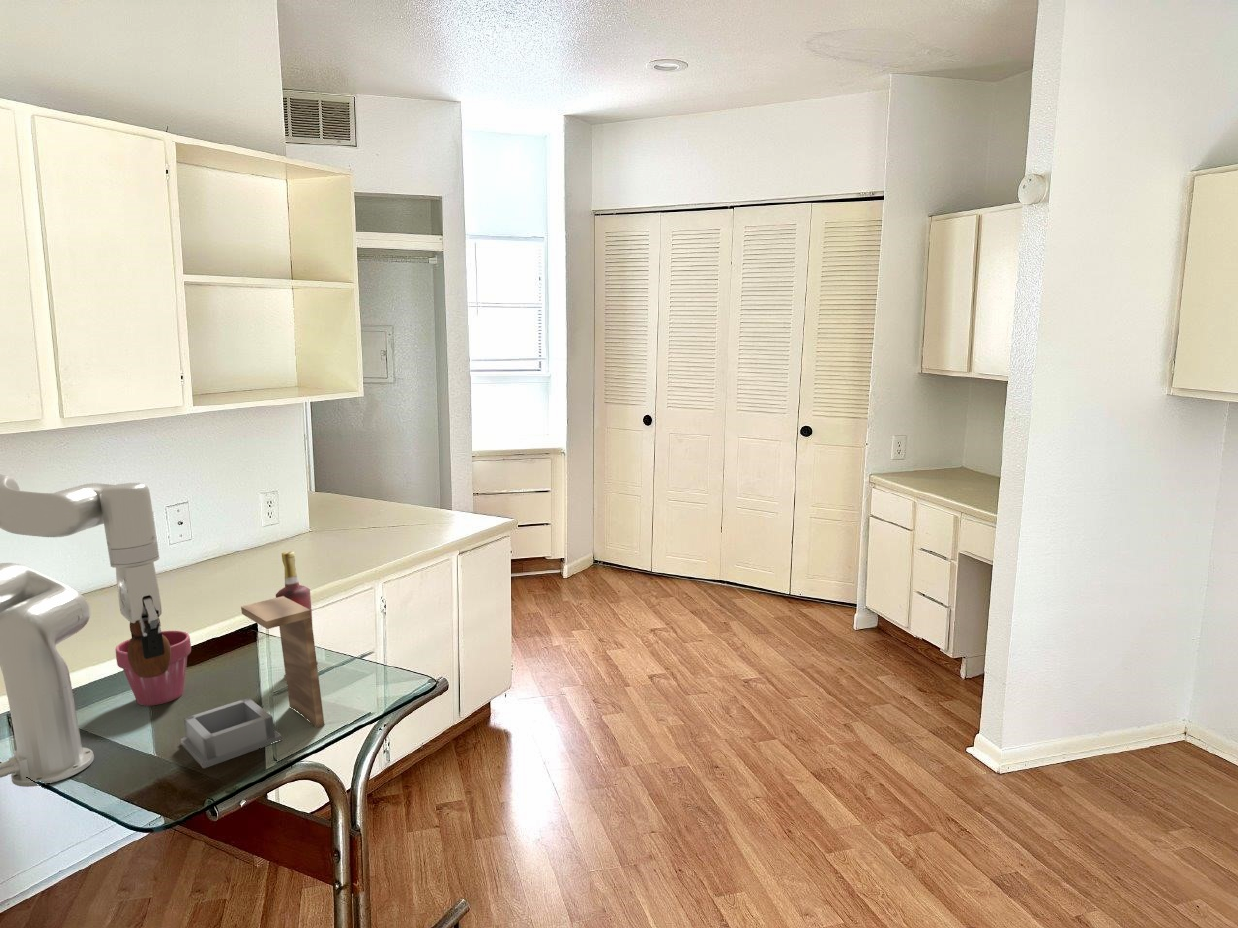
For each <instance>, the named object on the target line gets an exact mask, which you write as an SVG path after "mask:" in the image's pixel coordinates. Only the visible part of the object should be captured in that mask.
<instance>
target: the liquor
mask: <svg viewBox="0 0 1238 928" xmlns="http://www.w3.org/2000/svg"><path fill="white" fill-rule="evenodd" d="M281 560H282V563H283V567H284V587H282V588H280V589H279V590H278V591H277V592H276V593H275V598H278V597H282V596H284V597H286V598H288V599H290V600H292V601H294V602H296V603H298V604H300V605H302V606H304V607H306V608H308V609H310V611H311V619H312V620H313V614H312V613H313V612H312V611H313V610H312V609H313V608H312V598H311V588H308V586H305V585H302V584H300V582H299V578H298V572H297V570H296V556H295V551H286V552H282V553H281ZM318 664H319V662H318V661H317V666H318Z"/></svg>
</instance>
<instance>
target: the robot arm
mask: <svg viewBox="0 0 1238 928" xmlns="http://www.w3.org/2000/svg"><path fill="white" fill-rule="evenodd" d="M153 511H154V510H153V506H152V500H151V493H150V489H149V487H148V486H147V485H146V484H144V483H141V482H125V483H120V484H119V483H118V484H109V483H108V484H107V483H100V482H99V483H98V482H94V483H93V482H91V483H85V484H80V485H78V486H74V487H69V488H65V489H62V490H59V491H56V492H50V493H49V492H37V491H33V492H32V491H24V490H20V487H19V485H18V483H17V481H16V480H15V479H14V478H12V477H11V476H9V475H7V474H0V529H1V530H3V531H6V532H8V533H11V534H15V535H21V536H31V537H42V538H63V537H69V536H72V535H75V534H77V533H80V532H83V531H85V530H88V529H92V528H94V527H98V526H100V525H103V527H104V533H105V540H106V547H107V551H108V559H109V565H110V567H111V568H115V575H116V576H115V577H116V587H117V596H118V605H119V612H120V614H121V615H122V616H123V618H125V619H126V620H127V621H128V622H129V623H130V622H131V623H136V621H137V620H139V623H140V627H141V631H142V635H143V636H142V637H141V642H142V649H143V655H144V658H145V659H149V658H152V657H156V656H160V655H163V654H164V653H165V651H164V645H163V638H162V632H161V631H162V629H161V626H160V625H161V623H160V624H159V620H158V617H159V618H160V616H161V615H162V613H163V612H162V602H161V596H160V594H161V593H160V590H159V583H158V579H157V578H158V577H157V572H156V568H155V563H154V562H157V561H158V560H160V554H159V547H158V540H157V533H156V525H155V521H154V512H153ZM145 615H147V618H143V619H142V616H145ZM90 618H91V607H90V604H89V602H88V601H87V599H86V598H85V596H84V595H82V594H81V592H79V591H78V590H76V589H74V588H73V587H71V586H70V585H67V584H65V583H63V582H61V581H58V580H57V579H54V578H52V577H50V576H48V575H46V574H44V573H41V571H37V570H35V569H33V568H30V567H29V566H26V565H23V564H20V563H14V562H2V563H1V562H0V671H1V674H2V677H3V681H4V687H5V692H6V697H7V700H8V705H9V706H8V707H9V711H10V716H11V717H10V718H11V722H12V723H11V724H12V728H13V735H14V739H15V745H16V750H15V751H14V752H13V753H14V756H12V757H8V760H6V761H3V762H0V779H1V778H5V777H7V776H10V779H11V782H12V784H13V785H15V786H18V787H24V788H25V787H27V788H29V787H37V786H41V785H37V784H36V783H34V782H33V781H35V782H38V781H41V782H44V783H50V784H53V783H57V782H59V781H62V780H65V779H68V778H70V777H73V776H74V775H77V774H78V773H80V772H82V771H83V770H85V769H87V768H88V767H89V766H90V765H91V764H92V763H93V761H94V760H95V756H94V752H93V750H91V749H90V748H88V747H83V745H82V741H81V740H82V738H81V734H80V733H81V732H80V726H79V723H78V722H79V721H78V717H77V711H76V704H75V699H74V694H73V693H74V692H73V686H72V680H71V676H70V670H69V668H68V665H67V663H66V661H65V660H64V658H63V657H62V655H61V654H60V653H59V651H58V649H57V645H58V644H60V643H61V642H63V641H65V640H68V638H70V637H72V636H75V634H76V635H77V634H78V633H79V632H80V631H82V629H84V628H85V627H86V626H87V624H88V622H89V620H90ZM146 622H148V623H147V624H146V628H145V624H144V623H146ZM130 635H131V638H132V637H133V636H134V635H133V634H132V633H131V632H130ZM26 777H28V778H30V779H31V780H33V781H31V780H30V779H28V778H26Z"/></svg>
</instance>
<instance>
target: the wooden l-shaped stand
mask: <svg viewBox="0 0 1238 928" xmlns="http://www.w3.org/2000/svg"><path fill="white" fill-rule="evenodd" d="M240 609H241V610H240V611H241V614H242V615H243V616H244V617H246V618H248V619H249V620H251V621H253V622H254V623H255V624H258V625H260V626H261V627H263V628H265V629H266V630H269V629H273V628H277V627H279V634H280V642H281V643H280V644H281V650H282V658H283V664H284V674H285V680H286V681H285V682H286V689H287V690H286V691H287V696H288V705H289V708H290V707H291V708H293V709H295V710H296V711H298V712H299V713H300V714H302V715H303V716H304V717H305V718H306V719H308V720H309V721H310V722H311V723H312V725H313V726H314V727H315V726H316V727H315V728H317V729H318V728H320V727H323V726H325V720H324V719H325V718H324V712H323V711H324V710H323V702H322V695H321V692H322V691H321V686H320V685H321V684H320V679H319V678H320V677H319V670H318V665H317V662H318V661H317V654H316V645H315V635H314V630H313V628H314V627H313V618H312V619H311V611H310V609H308V608H306V607H304V606H302V605H300V604H298V603H296V602H294V601H292V600H290V599H288V598H286V597H284V596H282V597H278V598H276V597H274V598H269V599H265V600H262V601H257V602H254V603H251V604H250V603H249V604H247V605H242V606H240ZM291 708H290V709H291ZM293 709H292V710H293ZM305 718H304V719H305ZM306 719H305V720H306ZM309 721H308V722H309ZM310 722H309V723H310ZM311 723H310V724H311Z"/></svg>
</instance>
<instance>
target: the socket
mask: <svg viewBox="0 0 1238 928" xmlns="http://www.w3.org/2000/svg"><path fill="white" fill-rule="evenodd" d="M183 720H184V728H185V735H186V737H182V738H180V744H181V745H182V747H183V748H184V749H185V750H186V751H187V752H188V753H189V755H191V757H193V759H194V760H195V761H196V763H198V764H199V766H201V768H202V769H208V768H209V767H212V766H215V765H218V764H221V763H223V762H226V761H230V760H231V759H234V758H237V757H240V756H242V755H246V754H248V753H251V752H255V751H257V750H259V748H260V749H263V748H265V747H267V746H266V745H268V746H270V745H269V744H271V743H273V742H275V741H279V740H281V739H282V740H283V738H282V735H281V733H279V732H278V731H277V730H276V729H275V726H274V717H273V716H272V715H271V714H270V713H269V712H267V711H266V710H265V709H264V708H262V707H261V706H260V705H258V704H257V702H255V701H254V700H253V699H251V698H250V697H246V698H243V699H240V700H238V701H233V702H231V703H227V704H225V705H221V706H217V707H216V708H215V707H214V708H212V709H209V710H205V711H202V712H199V713H195V714H193V715H190V716H186V717H184V718H183ZM279 742H280V741H279ZM271 745H272V744H271Z"/></svg>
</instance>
